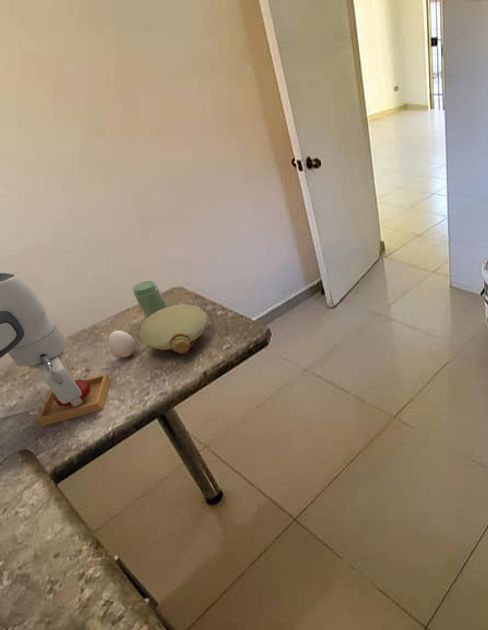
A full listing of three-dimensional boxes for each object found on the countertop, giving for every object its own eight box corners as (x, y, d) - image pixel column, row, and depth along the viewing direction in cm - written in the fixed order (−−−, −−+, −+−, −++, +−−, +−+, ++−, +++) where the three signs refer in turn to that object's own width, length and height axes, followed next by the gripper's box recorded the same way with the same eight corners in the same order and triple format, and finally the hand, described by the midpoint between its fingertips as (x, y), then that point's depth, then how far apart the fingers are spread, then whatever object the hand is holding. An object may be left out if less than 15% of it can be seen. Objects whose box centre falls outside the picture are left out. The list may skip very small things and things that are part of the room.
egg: (140, 357, 108) (126, 333, 104) (116, 364, 106) (101, 341, 102) (139, 346, 112) (127, 323, 108) (116, 353, 110) (102, 330, 106)
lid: (93, 382, 98) (89, 376, 97) (87, 400, 93) (82, 394, 92) (61, 390, 97) (57, 384, 96) (53, 409, 92) (48, 403, 91)
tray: (42, 426, 91) (36, 419, 89) (56, 394, 99) (50, 388, 97) (102, 409, 94) (97, 402, 93) (111, 380, 102) (106, 373, 100)
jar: (147, 326, 120) (130, 293, 114) (148, 315, 124) (131, 283, 118) (170, 319, 122) (155, 287, 116) (170, 309, 126) (155, 277, 120)
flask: (207, 317, 121) (223, 351, 109) (144, 339, 114) (155, 378, 102) (195, 289, 115) (211, 322, 103) (129, 311, 109) (138, 349, 96)
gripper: (68, 359, 83) (103, 409, 91) (45, 320, 95) (77, 368, 103) (28, 376, 79) (68, 427, 87) (10, 334, 91) (46, 382, 99)
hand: (73, 395), depth 95 cm, fingers closed on lid, 6 cm apart
